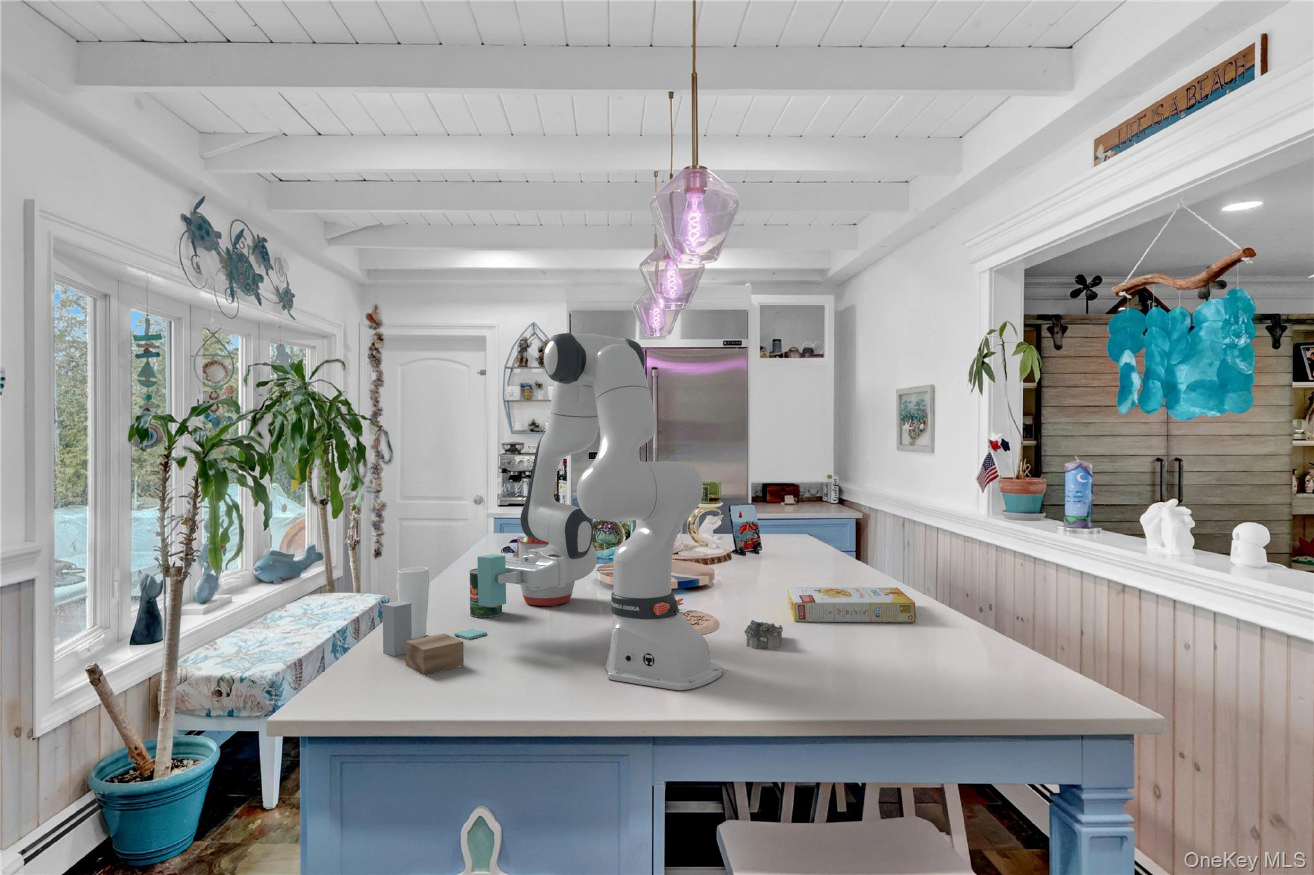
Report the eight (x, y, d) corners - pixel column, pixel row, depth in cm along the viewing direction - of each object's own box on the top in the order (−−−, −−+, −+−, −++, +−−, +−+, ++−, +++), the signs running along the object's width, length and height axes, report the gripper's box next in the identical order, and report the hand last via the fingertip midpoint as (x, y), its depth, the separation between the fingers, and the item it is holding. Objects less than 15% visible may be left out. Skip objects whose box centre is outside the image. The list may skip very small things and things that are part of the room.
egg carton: (778, 652, 150) (778, 632, 150) (742, 649, 152) (742, 629, 152) (785, 638, 160) (785, 619, 160) (751, 635, 163) (751, 616, 163)
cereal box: (916, 601, 170) (793, 599, 173) (917, 625, 170) (793, 623, 172) (896, 585, 190) (786, 584, 193) (896, 606, 190) (786, 605, 193)
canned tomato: (506, 610, 187) (506, 567, 187) (496, 618, 179) (496, 573, 179) (476, 610, 188) (475, 567, 188) (465, 617, 180) (464, 572, 180)
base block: (463, 667, 142) (463, 641, 142) (423, 676, 136) (423, 649, 136) (444, 658, 148) (444, 633, 148) (406, 666, 142) (405, 641, 142)
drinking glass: (403, 642, 158) (402, 573, 158) (393, 636, 163) (393, 568, 163) (434, 637, 162) (433, 569, 162) (423, 631, 167) (423, 565, 167)
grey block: (411, 651, 152) (411, 603, 152) (394, 656, 148) (393, 606, 148) (400, 648, 154) (400, 600, 154) (383, 652, 151) (382, 604, 151)
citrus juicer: (529, 594, 206) (528, 522, 206) (586, 597, 201) (585, 524, 201) (500, 606, 192) (500, 529, 192) (561, 610, 186) (560, 531, 186)
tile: (487, 634, 164) (486, 632, 164) (468, 639, 160) (468, 637, 160) (472, 631, 167) (472, 628, 167) (454, 636, 163) (454, 633, 163)
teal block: (506, 603, 153) (505, 555, 153) (491, 607, 150) (490, 558, 150) (493, 601, 155) (492, 554, 156) (478, 605, 152) (477, 556, 152)
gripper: (506, 551, 169) (456, 559, 158) (570, 557, 157) (521, 566, 146) (506, 578, 169) (457, 588, 158) (570, 587, 157) (521, 598, 146)
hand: (488, 578), depth 152 cm, fingers closed on teal block, 4 cm apart
